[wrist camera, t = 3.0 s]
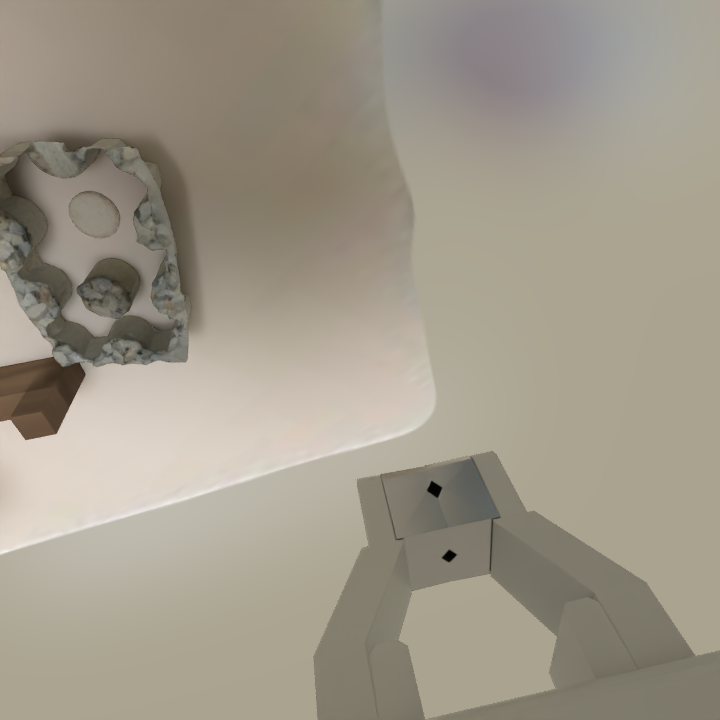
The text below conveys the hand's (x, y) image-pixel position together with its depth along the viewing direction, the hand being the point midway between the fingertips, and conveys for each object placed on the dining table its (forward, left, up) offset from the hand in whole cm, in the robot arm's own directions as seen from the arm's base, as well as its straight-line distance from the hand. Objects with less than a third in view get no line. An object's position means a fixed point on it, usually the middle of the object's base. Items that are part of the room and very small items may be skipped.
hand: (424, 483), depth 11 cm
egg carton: (0, -11, -19) cm, 22 cm away
